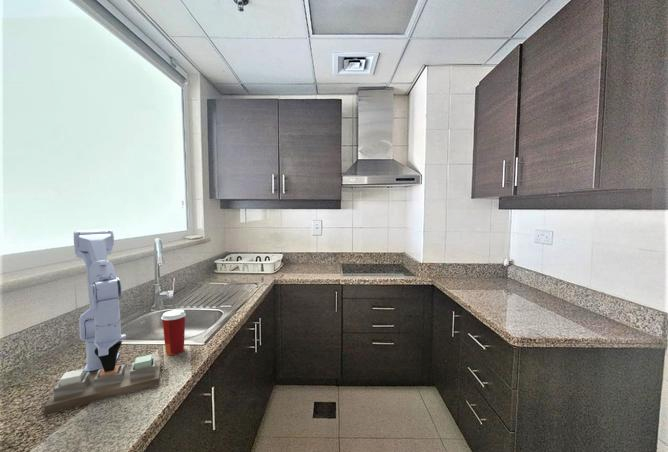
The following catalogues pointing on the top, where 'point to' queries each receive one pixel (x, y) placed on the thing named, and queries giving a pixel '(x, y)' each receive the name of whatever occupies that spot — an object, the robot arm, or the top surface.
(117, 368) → the terracotta button
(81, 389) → the button board
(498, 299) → the top surface
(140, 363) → the sage button
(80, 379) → the cream button
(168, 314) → the paper cup
